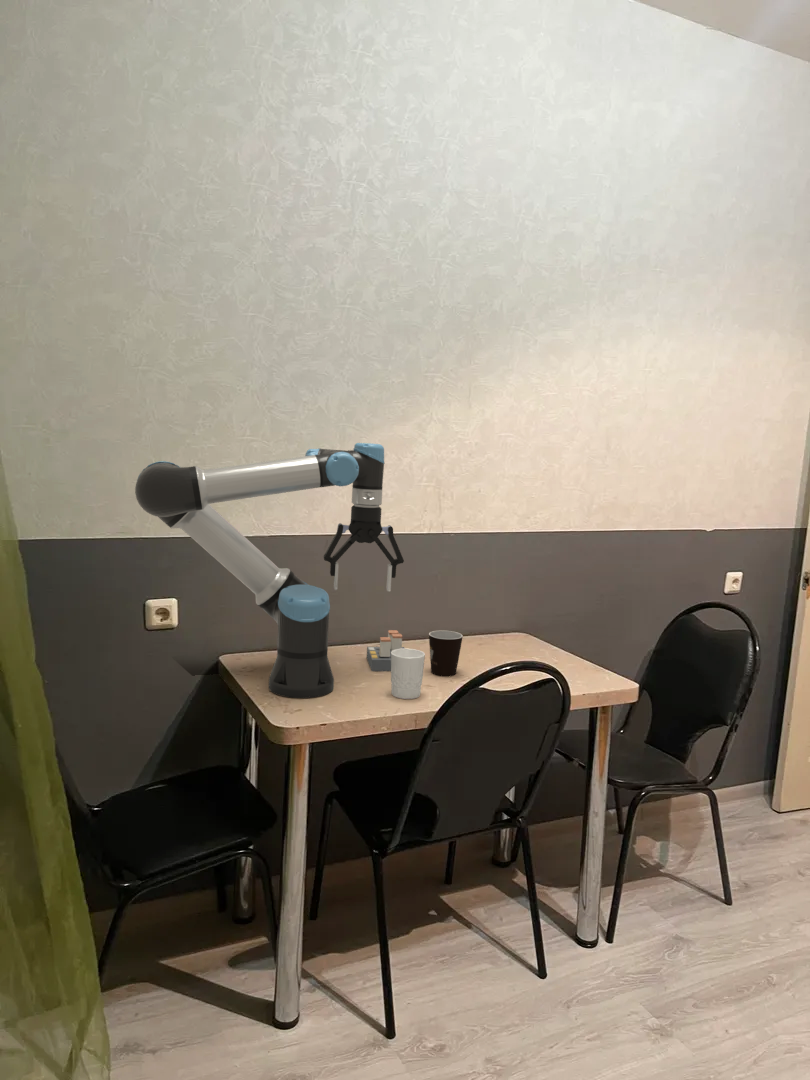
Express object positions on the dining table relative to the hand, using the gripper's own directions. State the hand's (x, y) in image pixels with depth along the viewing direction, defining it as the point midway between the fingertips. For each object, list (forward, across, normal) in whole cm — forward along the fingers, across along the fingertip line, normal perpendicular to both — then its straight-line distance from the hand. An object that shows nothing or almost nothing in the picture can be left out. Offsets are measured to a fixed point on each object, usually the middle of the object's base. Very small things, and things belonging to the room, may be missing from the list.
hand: (362, 589), depth 204 cm
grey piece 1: (+17, +7, 0) cm, 19 cm away
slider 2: (+17, +10, +4) cm, 21 cm away
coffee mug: (+21, +22, -2) cm, 30 cm away
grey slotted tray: (+20, +8, +4) cm, 22 cm away
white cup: (+21, +9, -20) cm, 30 cm away
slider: (+17, +10, +7) cm, 21 cm away
